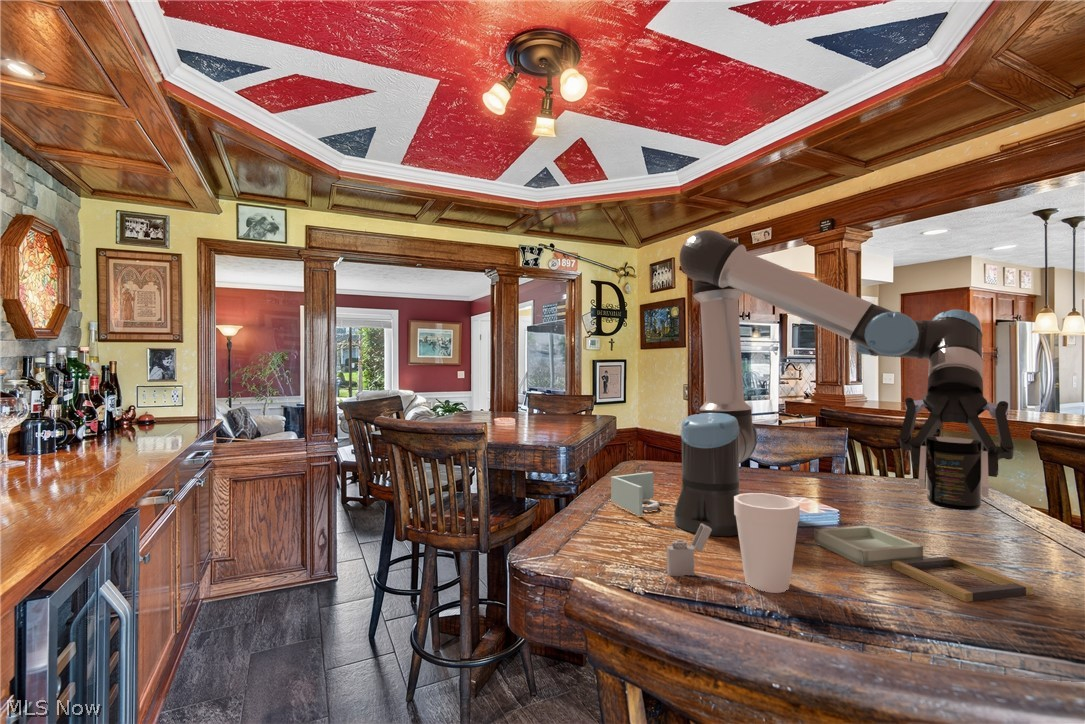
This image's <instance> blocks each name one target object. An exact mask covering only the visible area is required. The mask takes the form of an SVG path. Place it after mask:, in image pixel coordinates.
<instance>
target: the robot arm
mask: <svg viewBox="0 0 1085 724" xmlns="http://www.w3.org/2000/svg"><path fill="white" fill-rule="evenodd" d="M679 263H680V267H681V270H682V271H683V273H684V274H685V275H686V276H687V277H688V278H689V279H691V280H692V296H693V298H694V299H695V300H696V301H697V302H699V304H700V321H701V322H700V323H701V337H702V341H701V342H702V356H703V358H702V359H703V373H704V374H703V375H704V392H705V393H704V395H705V402H704V403H703V404H702V405H701V406H700V408H699V414H697V413H695V414H691V415H689V416H688V415H687V416H686V417H685V418H684V419H683V420H682V423H681V431H680V438H681V476H682V477H681V481H682V482H681V484H682V485H681V490H680V493H679V496H678V499H677V502H676V505H675V508H674V513H673V517H674V521H673V522H674V524H675V525H676V526H677V527H678V528H680V529H682V530H685V531H687V532H690V533H694V534H696V533H697V531H698V528H699V526H700V524H701V523H702V524H704V525H706V526H709V527H710V528H711V529H712V531H711V533H710V535H709V536H713V537H730V536H731V537H732V536H739V535H738V528H737V521H736V515H734V496H736V495H739V494H741V492H740V464H741V463H743V462H745V461H747V460H748V459H749V458H750V457H752V455H753V453H754V452H755V451H756V450H755V449H756V447H757V444H758V432H757V430H756V427H755V425H754V423H753V414H752V407H751V406H750V405H749V404H748V403H747V402H746V401H745V395H744V379H743V363H742V361H743V360H742V345H741V328H740V312H739V300H740V298H741V297H742V296H743V295H744V294H747V295H749V296H751V297H753V298H755V299H758V300H759V301H762V302H764V303H767V304H769V305H770V306H771V305H772V306H774V307H775V308H777V309H780V310H782V311H784V312H787V313H789V314H791V315H793V316H796V317H797V318H799V319H803V320H805V321H807V322H808V323H811V324H813V325H816V326H818V327H821V328H823V329H825V330H827V331H829V332H832V333H833V334H836V335H838V336H840V337H843V338H845V339H847V340H849V341H852V342H853V343H855V344H856V345H855V346H856V347H855V350H856V351H857V353H858V354H860V355H869V356H872V357H887V358H888V357H892V358H904V359H905V358H908V359H909V358H910V359H919V360H928V371H927V373H928V374H927V376H928V379H927V389H926V391H927V392H926V395H925V396H924V397H923V399H918V400H917V399H916V400H915V399H913V398H912V397H906V398H905V399H904V403H905V404H904V405H905V415H904V419H903V421H902V426H901V430H900V433H899V434H900V435H899V438H898V439H899V445H900V449H901V450H903V451H910V452H911V456H910V457H911V459H910V461H911V462H910V463H911V467H912V468H913V469H918V483H919V484H918V486H919V489H921V490H927V448H926V438H927V437H934V435H935V434H936V433H937V431H938V429H939V428H941V426H942V425H943V423H958V424H965V425H966V427H967V429H968V430H970V432H971V434H972V435H973V437H974V440H977V441H980V442H981V451H982V452H981V498H982V497H983V498H989V493H990V492H989V485H990V483H989V477H994V478H997V477H998V476H999V461H1000V460H1003V459H1005V460H1012V459H1013V458H1014V450H1015V449H1014V447H1015V446H1014V441H1013V438H1012V435H1011V430H1010V427H1009V422H1008V416H1009V403H1008V402H1007V401H1004V400H1001V401H999V402H998V403H995V402H989V401H988V400H987V398H985V397H984V380H983V378H984V377H983V376H984V375H983V374H984V373H983V332H982V326H981V321H980V320H979V318H978V316H976V315H975V314H974V313H972V312H970V311H967V310H963V309H949V310H948V311H942V312H940V313H938V314H936V315H935V316H934V317H933V318H932V320H931V319H930V320H928V319H927V320H926V319H925V320H916V319H912V317H910V316H909V315H907V314H905V313H903V312H900V311H893V310H890V309H888V308H885V307H882V306H880V305H877V304H875V303H873V302H871V301H868V300H866V299H863V298H861V297H858V296H857V295H856V296H855V295H853V294H850V293H848V292H846V291H843V290H841V289H838V288H836V287H834V286H831V285H829V284H826V283H824V282H821V281H818V280H816V279H814V278H811V277H809V276H806V275H805V274H802V273H799V272H797V271H794V270H791V269H790V268H787V267H784V266H782V265H781V264H777V263H775V262H772V261H769V260H767V259H765V258H762V257H760V256H757V255H755V254H752V253H750V252H748V251H747V248H746V246H745V245H744V244H741V243H738V242H736V241H735V240H732V239H731V238H728V237H727V236H725V235H724V234H723V233H721V232H719V231H716V230H711V229H705V230H700V231H698V232H697V231H696V232H695V233H693V234H692V235H690V236H689V237H688V238H687V239H686V240H685V241H684V243H683V244H682V246H681V249H680V252H679ZM923 408H925V409H926V410H927V411H928V412H929V413H930V414H929V416H928V417H927V419H926V421H925V422H924V424H923V425H922V427H921V428H920V430H919V431H918V433H917V434H916V435H915V437H914V438H913V439H912V437H913V434H914V429H915V426H916V420H917V414H919V413H920V412H921V411H922V409H923ZM985 411H988V412H989V415H990V416H991V417H992V418H994V423H995V429H996V434H997V438H998V443H999V446H998V445H997V444H996V443H995V442H994V440H993V439H992V437H991V435H990V434H989V432H988V431H987V429H986V427H985V425H984V424H983V423H982V421H981V419H980V417H979V416H980V415H981V414H982V413H984V412H985Z"/></svg>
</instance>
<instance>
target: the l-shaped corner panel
mask: <svg viewBox="0 0 1085 724" xmlns="http://www.w3.org/2000/svg"><path fill="white" fill-rule="evenodd" d="M654 486H655V483H654V472H652V471H648V472H639V473H631V474H623V475H621V474H620V475H615V476H614V475H613V476H610V494H611V495H610V499H611V500H610V501H612V502H614V503H616V504H618V505H619V506H621V507H623V508H625V509H627V510H629V511H631V512H632V513H635V514H636V515H638V516H643V515H644V512H643V511H644V510H647V511H652V510H657V511H659V510H658V509H657V508H659V509H660V503H659V501H657V500H650V498H654V499H655V494H654V493H655V489H654V488H655V487H654ZM642 504H648V505H647V506H645V505H642Z"/></svg>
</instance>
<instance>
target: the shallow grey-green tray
mask: <svg viewBox="0 0 1085 724" xmlns="http://www.w3.org/2000/svg"><path fill="white" fill-rule="evenodd" d="M813 532H814V533H813V535H814V537H813V538H814V541H813V542H814V544H817V545H819V546H821V547H823V548H825V549H827V550H829V551H831V552H833V553H835V554H838V555H839V556H841V557H843V558H845V559H847V560H849V561H852V562H853V563H855V564H858V565H860V566H861V567H869V566H871V567H872V566H881V565H883V566H884V565H892V561H902V560H913V559H923V558H924V546H923V545H920V544H919V543H915V542H912V541H910V540H908V539H904V538H902V537H899V536H897V535H895V534H892V533H890V532H886V531H884V530H881V529H879V528H876V527H873V526H871V525H856V526H844V527H830V528H817V529H815V528H814V531H813Z"/></svg>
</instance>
